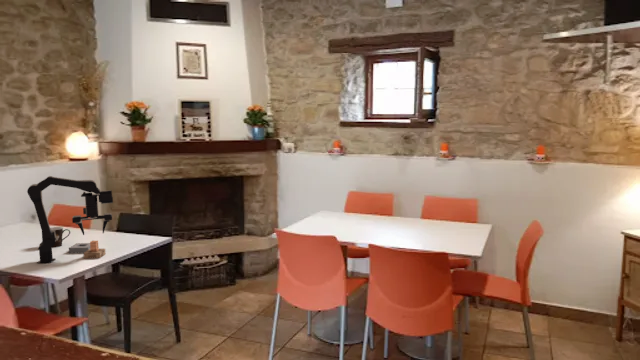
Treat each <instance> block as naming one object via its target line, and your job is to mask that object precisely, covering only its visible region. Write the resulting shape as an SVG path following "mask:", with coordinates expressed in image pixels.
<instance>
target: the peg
mask: <svg viewBox="0 0 640 360" xmlns="http://www.w3.org/2000/svg"><path fill="white" fill-rule="evenodd" d="M89 243H90V250H91V252H98V251H99V249H100V248H99V240H91V241H89Z"/></svg>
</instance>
